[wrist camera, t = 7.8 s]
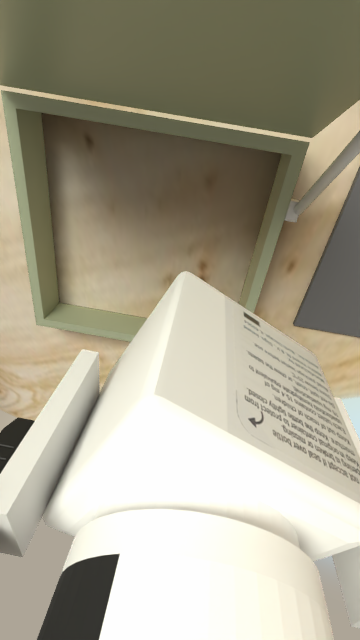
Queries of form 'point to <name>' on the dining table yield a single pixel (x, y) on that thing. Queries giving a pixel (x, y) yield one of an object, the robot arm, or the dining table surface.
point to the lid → (191, 57)
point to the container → (205, 485)
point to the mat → (337, 276)
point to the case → (29, 136)
